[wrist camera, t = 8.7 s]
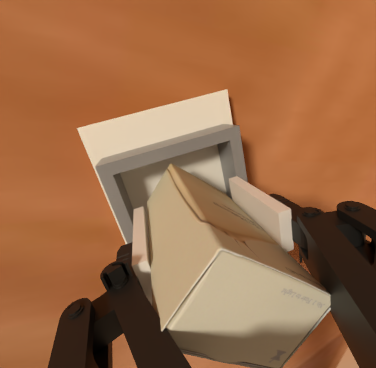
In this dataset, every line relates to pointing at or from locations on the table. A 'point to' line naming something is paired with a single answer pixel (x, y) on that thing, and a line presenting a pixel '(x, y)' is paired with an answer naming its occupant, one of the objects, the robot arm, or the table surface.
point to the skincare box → (225, 278)
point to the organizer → (163, 151)
